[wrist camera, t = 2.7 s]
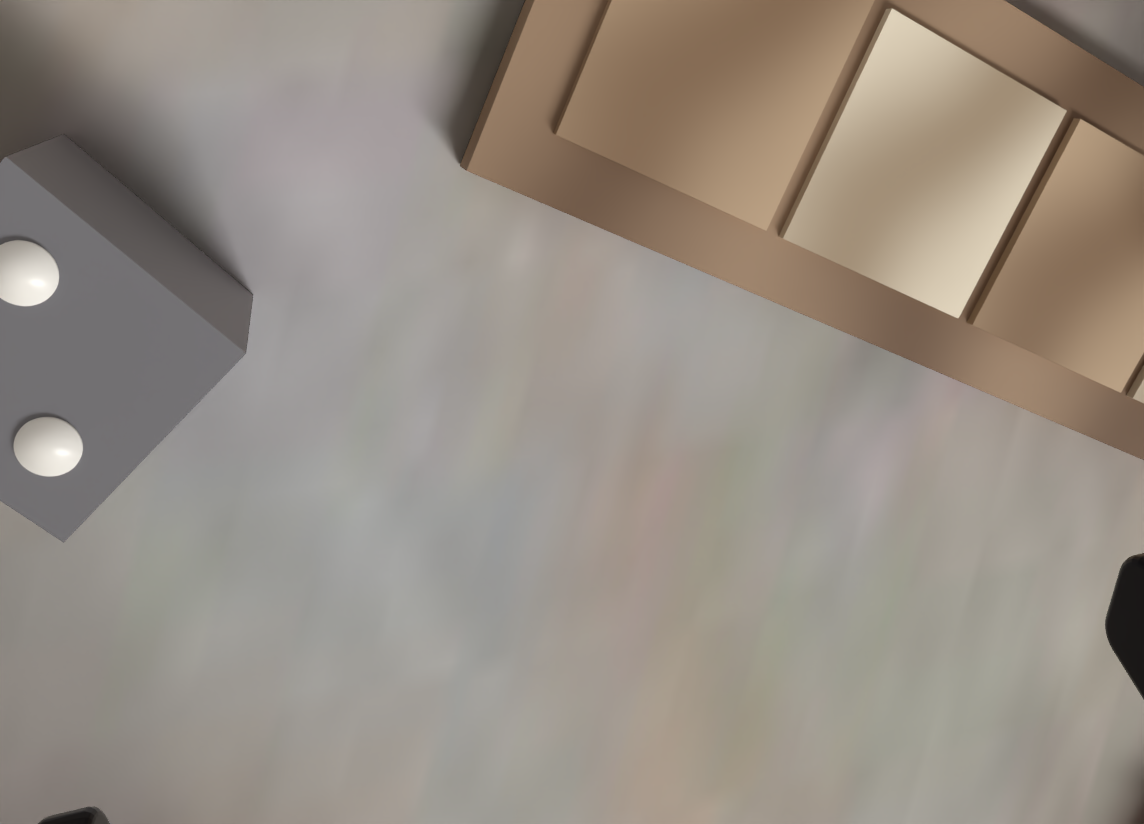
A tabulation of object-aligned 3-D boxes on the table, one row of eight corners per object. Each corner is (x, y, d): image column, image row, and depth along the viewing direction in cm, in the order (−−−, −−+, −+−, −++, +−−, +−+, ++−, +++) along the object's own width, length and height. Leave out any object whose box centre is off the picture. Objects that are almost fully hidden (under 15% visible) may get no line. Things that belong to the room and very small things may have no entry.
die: (105, 447, 19) (62, 544, 15) (-95, 303, 17) (-197, 373, 14) (253, 294, 19) (246, 355, 15) (64, 133, 17) (5, 157, 13)
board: (1381, 249, 25) (1422, 256, 24) (1231, 496, 27) (1265, 512, 26) (613, -222, 17) (631, -237, 16) (459, 165, 19) (468, 171, 18)
